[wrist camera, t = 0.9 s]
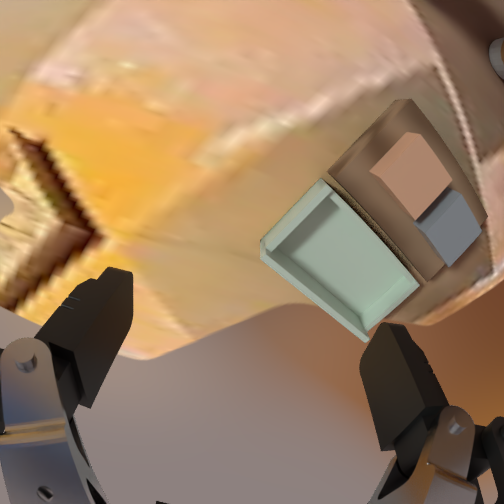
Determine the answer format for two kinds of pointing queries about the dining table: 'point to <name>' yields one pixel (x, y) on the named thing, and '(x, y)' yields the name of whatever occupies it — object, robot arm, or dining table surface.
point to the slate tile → (448, 226)
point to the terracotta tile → (411, 174)
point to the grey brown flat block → (377, 198)
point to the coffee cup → (497, 56)
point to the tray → (337, 260)
